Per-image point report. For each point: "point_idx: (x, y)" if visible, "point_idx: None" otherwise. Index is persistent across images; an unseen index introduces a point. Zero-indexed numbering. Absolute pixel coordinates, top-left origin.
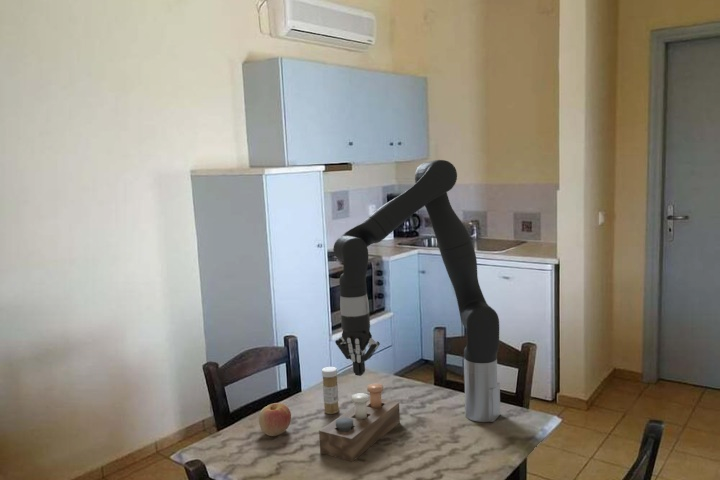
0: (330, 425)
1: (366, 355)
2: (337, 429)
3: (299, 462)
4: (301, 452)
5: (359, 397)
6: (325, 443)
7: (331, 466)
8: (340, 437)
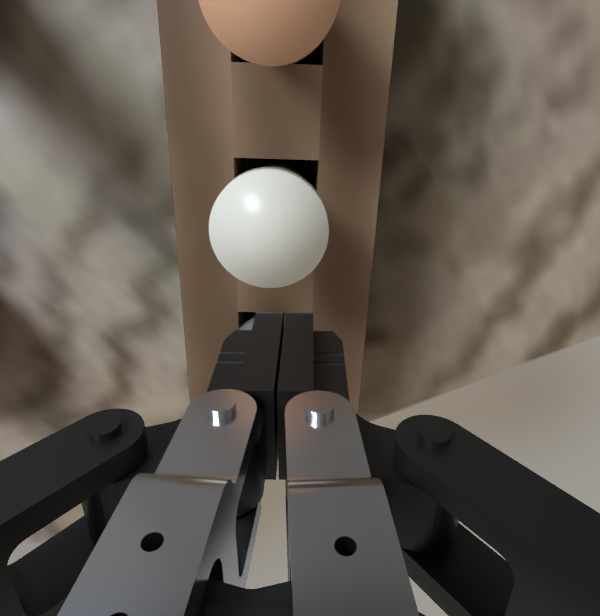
0: (202, 353)
1: (473, 599)
2: None
3: None
4: (148, 380)
5: (274, 248)
6: None
7: None
8: None
